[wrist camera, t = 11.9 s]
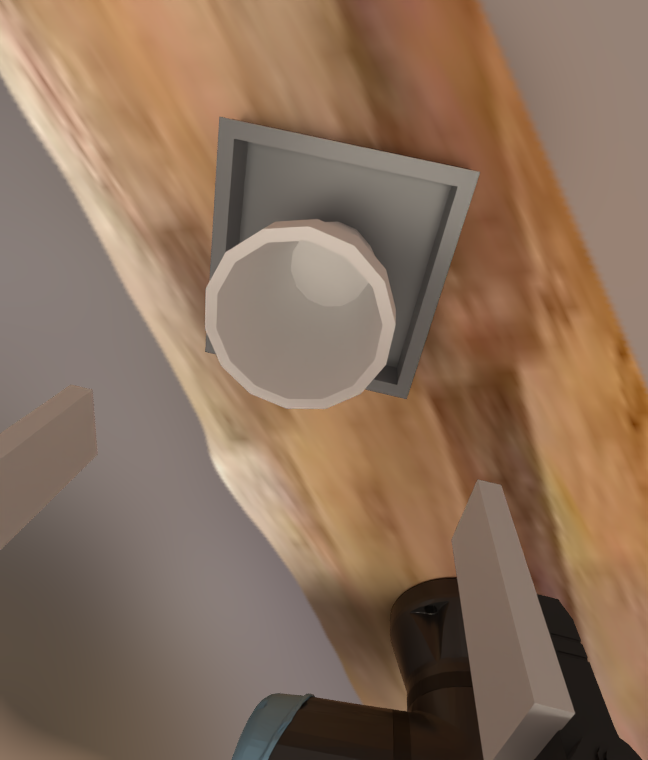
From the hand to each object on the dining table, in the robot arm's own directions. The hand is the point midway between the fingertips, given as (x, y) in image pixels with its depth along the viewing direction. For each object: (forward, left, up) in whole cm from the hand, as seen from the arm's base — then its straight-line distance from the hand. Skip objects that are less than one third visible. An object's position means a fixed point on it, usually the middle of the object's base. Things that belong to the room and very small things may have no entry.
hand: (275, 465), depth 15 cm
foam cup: (+2, +1, -22) cm, 22 cm away
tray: (+2, +1, -22) cm, 22 cm away
